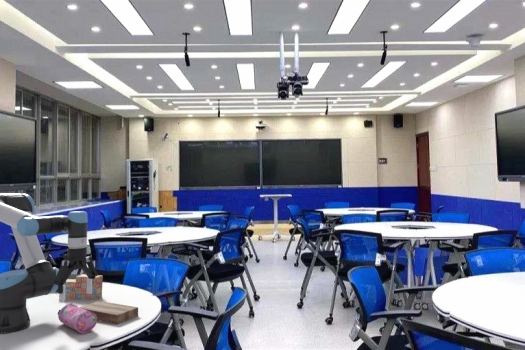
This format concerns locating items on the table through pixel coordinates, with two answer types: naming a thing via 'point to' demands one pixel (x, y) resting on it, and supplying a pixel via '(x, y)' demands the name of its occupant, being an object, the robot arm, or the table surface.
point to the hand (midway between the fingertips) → (76, 297)
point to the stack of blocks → (83, 288)
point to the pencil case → (77, 318)
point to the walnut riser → (111, 311)
